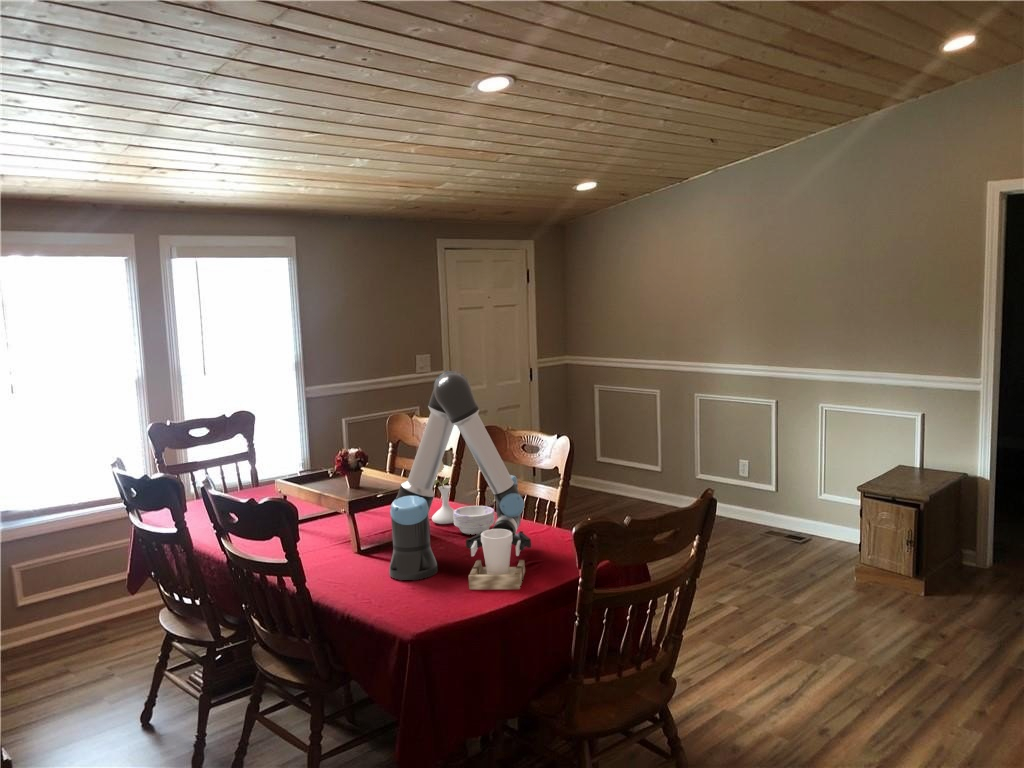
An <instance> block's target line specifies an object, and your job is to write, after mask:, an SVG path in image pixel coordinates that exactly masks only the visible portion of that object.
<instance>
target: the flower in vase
mask: <svg viewBox="0 0 1024 768" xmlns="http://www.w3.org/2000/svg"><path fill="white" fill-rule="evenodd" d="M444 468H445V465H444V462H443V460H442V461H441V464H440V467H439V470H438V473H437V475H439V473H442V472H443V470H444ZM450 480H451V477H450V476H449V477H447V478H445V479H443V480H442V481H441V482H440V480H439V478H438V476H436V479H435V481H434V484H433V486H435V485H436V484H438V483H439V485H441V486H438V490H439V491H440V494H441V498H442V505H441V507H440V508H439V509H438V510H437V511H436V512H435V513H434V514H433V515H432V516H431V520H432V522H434V523H435V524H439V525H447V524H454V519H453V518H454V516H453V512H454V510H455V509H454V508H453V507H451V505H450V503H449V495H450V490H451V488H452V486H451V485H445V484H447V483H448V482H449V481H450Z"/></svg>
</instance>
